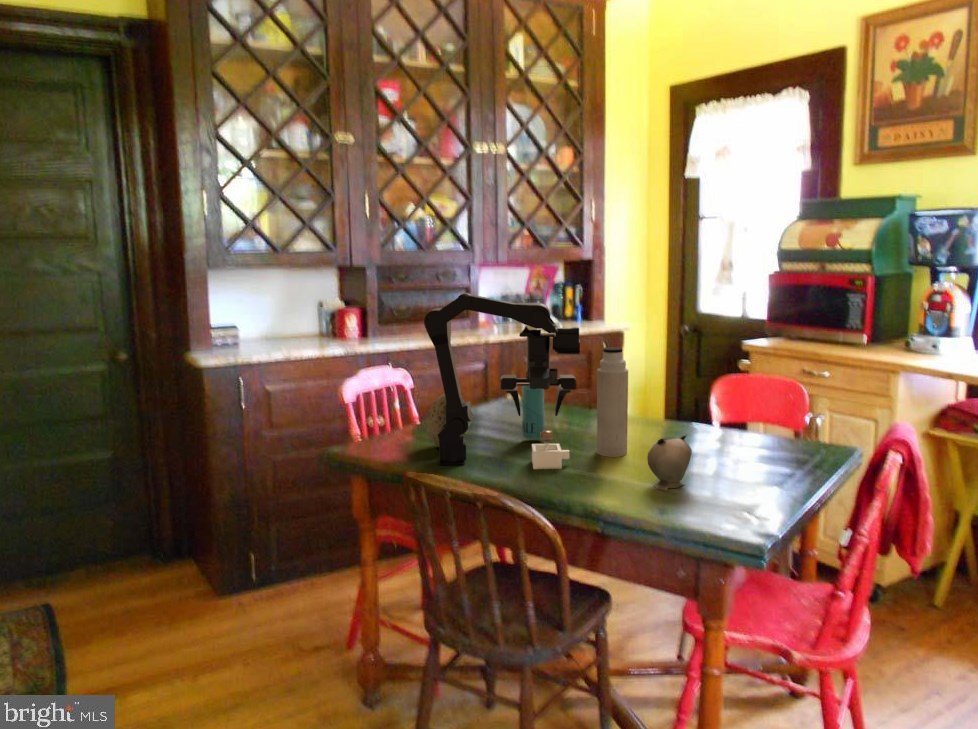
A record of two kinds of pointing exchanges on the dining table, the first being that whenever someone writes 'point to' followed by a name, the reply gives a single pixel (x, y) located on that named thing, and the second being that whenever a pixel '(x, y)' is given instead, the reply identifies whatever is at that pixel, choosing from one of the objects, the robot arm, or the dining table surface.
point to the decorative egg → (436, 419)
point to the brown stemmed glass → (546, 437)
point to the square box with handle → (548, 456)
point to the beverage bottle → (532, 412)
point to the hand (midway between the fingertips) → (537, 415)
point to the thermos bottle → (612, 404)
